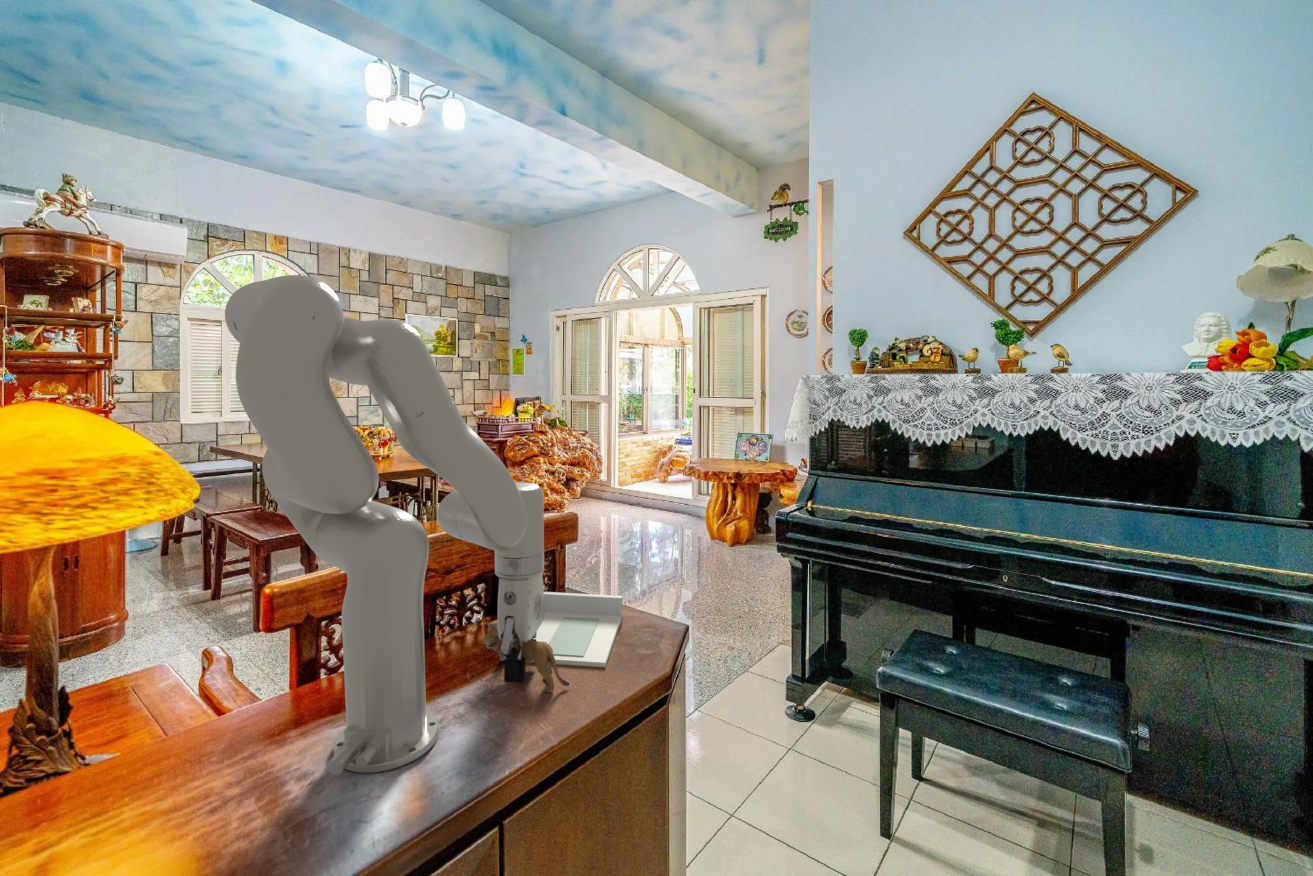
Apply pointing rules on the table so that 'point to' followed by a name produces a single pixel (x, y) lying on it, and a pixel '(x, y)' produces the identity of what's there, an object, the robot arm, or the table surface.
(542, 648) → the lion figurine
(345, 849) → the table surface
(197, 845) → the table surface
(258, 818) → the table surface
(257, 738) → the table surface
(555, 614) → the tray
